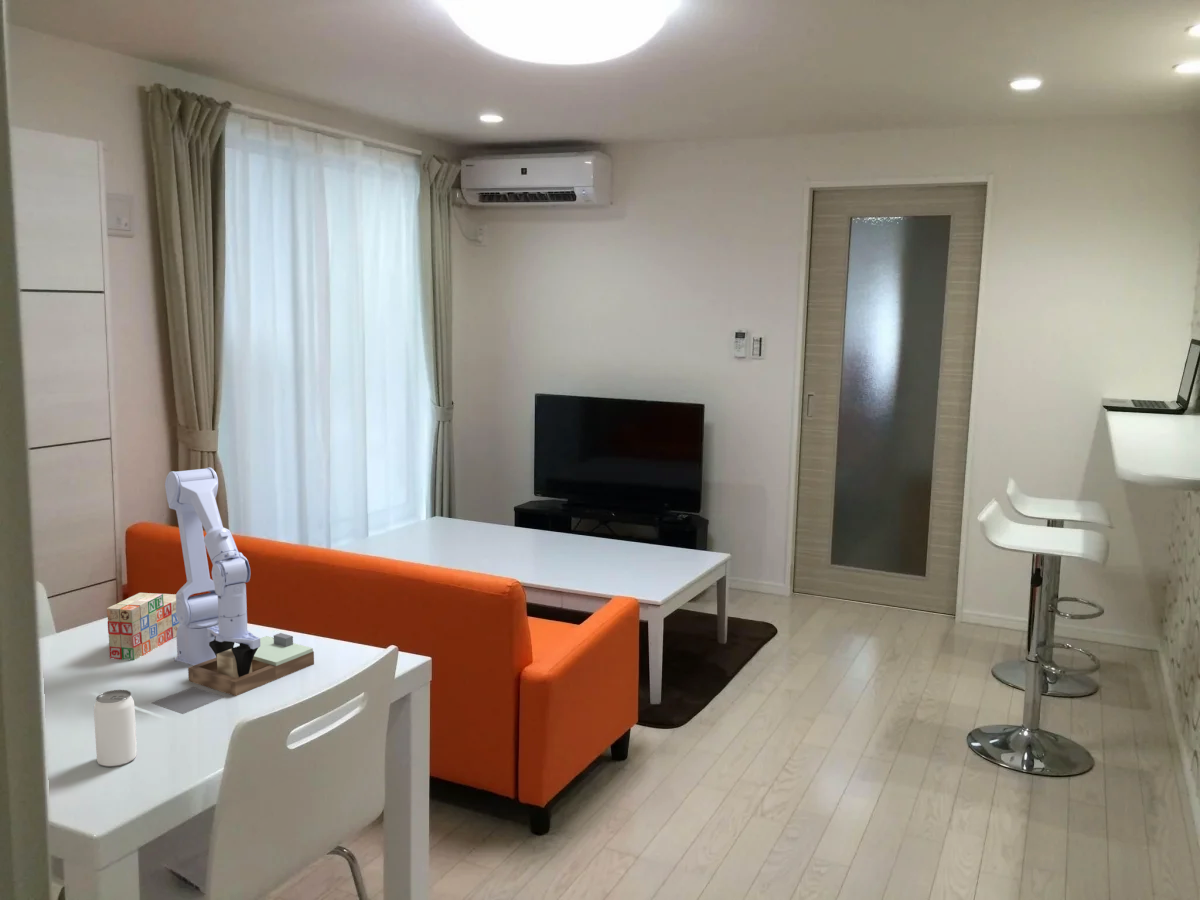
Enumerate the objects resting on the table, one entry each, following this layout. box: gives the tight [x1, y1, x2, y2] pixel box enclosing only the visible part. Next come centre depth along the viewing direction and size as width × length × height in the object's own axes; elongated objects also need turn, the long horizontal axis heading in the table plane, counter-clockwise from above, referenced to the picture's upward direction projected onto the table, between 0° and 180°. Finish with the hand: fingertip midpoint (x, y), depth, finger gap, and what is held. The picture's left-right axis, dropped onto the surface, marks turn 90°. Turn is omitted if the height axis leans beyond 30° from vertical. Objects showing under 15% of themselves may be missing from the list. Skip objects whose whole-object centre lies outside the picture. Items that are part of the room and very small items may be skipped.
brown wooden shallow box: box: [187, 650, 315, 697], centre depth 214 cm, size 15×22×4 cm
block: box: [217, 649, 252, 678], centre depth 209 cm, size 5×5×6 cm
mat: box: [151, 686, 225, 715], centre depth 199 cm, size 10×10×1 cm
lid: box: [253, 632, 314, 666], centre depth 218 cm, size 15×10×3 cm
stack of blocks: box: [106, 592, 181, 661], centre depth 231 cm, size 21×6×12 cm, turn 171°
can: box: [93, 689, 138, 768], centre depth 173 cm, size 6×6×12 cm
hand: (235, 673), depth 210 cm, fingers closed on block, 5 cm apart
